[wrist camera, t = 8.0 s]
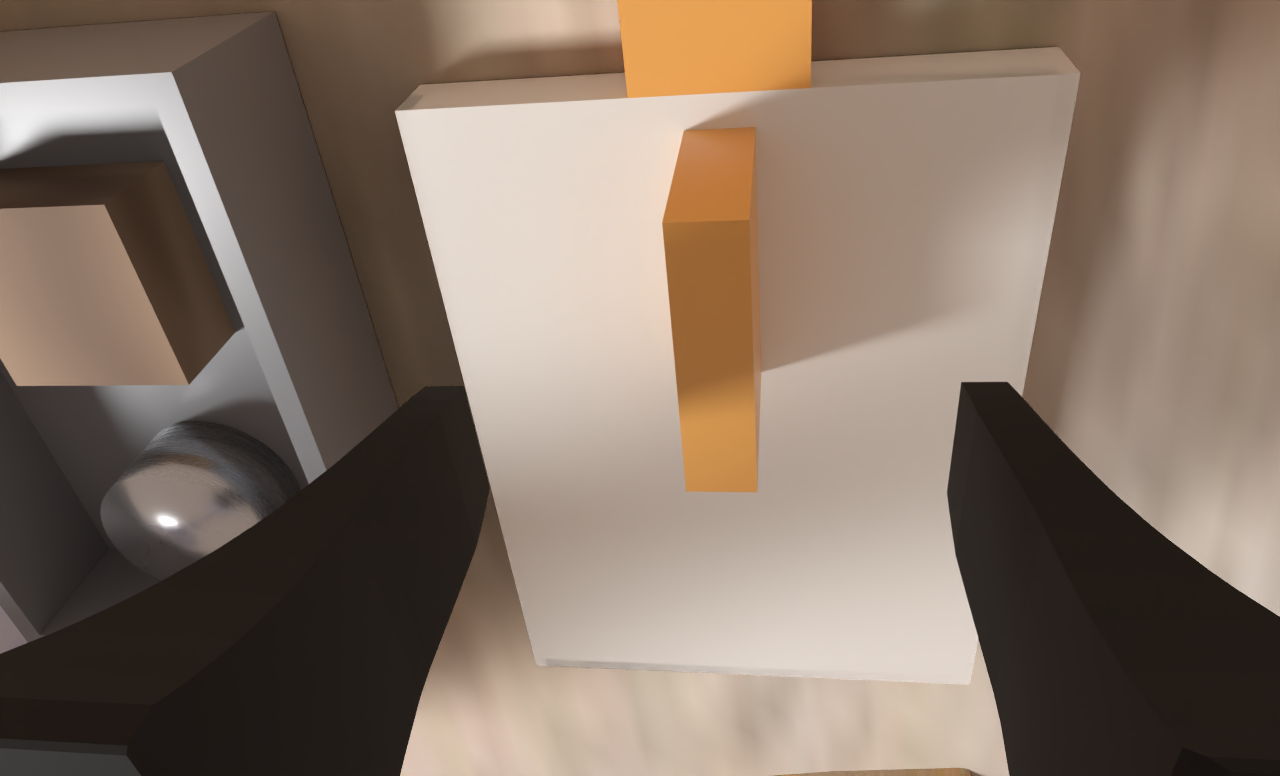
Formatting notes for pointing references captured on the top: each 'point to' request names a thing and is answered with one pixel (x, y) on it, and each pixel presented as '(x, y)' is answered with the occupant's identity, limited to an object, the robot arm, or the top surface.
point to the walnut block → (103, 279)
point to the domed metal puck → (192, 495)
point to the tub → (238, 261)
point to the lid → (740, 331)
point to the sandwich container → (893, 772)
